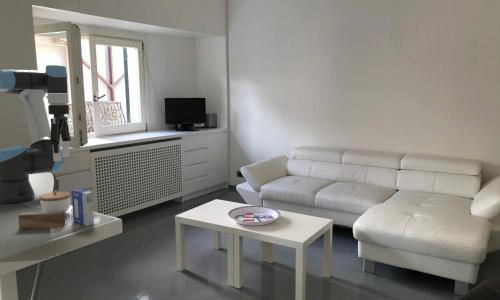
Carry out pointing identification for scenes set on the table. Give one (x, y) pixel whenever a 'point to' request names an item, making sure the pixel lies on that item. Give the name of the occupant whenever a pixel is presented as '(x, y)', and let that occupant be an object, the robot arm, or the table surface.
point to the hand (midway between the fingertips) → (61, 158)
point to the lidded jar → (55, 201)
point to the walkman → (82, 207)
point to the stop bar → (41, 220)
